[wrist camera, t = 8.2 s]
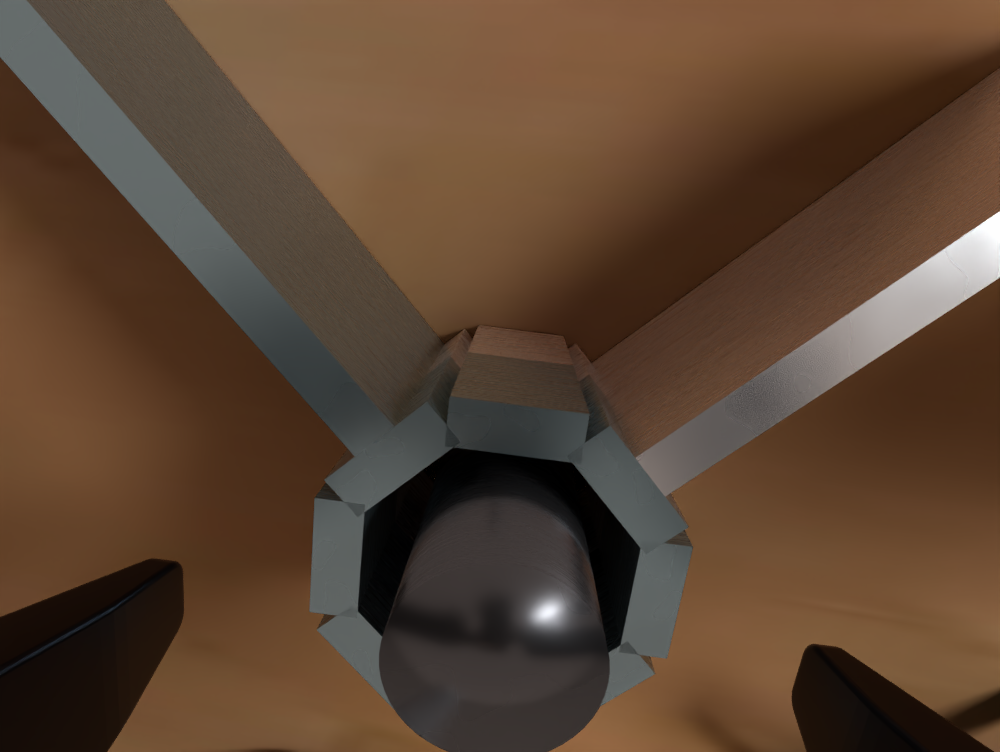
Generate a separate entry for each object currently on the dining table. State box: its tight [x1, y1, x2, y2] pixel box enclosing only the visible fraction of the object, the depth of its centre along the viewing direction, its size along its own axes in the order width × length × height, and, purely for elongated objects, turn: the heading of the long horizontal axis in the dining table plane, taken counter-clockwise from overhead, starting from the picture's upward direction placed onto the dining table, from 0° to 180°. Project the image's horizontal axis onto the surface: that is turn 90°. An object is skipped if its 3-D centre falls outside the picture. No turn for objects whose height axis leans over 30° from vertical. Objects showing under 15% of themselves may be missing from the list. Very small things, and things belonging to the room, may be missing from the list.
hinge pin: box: [379, 447, 610, 752], centre depth 12 cm, size 3×3×8 cm
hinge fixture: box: [0, 0, 1000, 709], centre depth 10 cm, size 18×18×6 cm
